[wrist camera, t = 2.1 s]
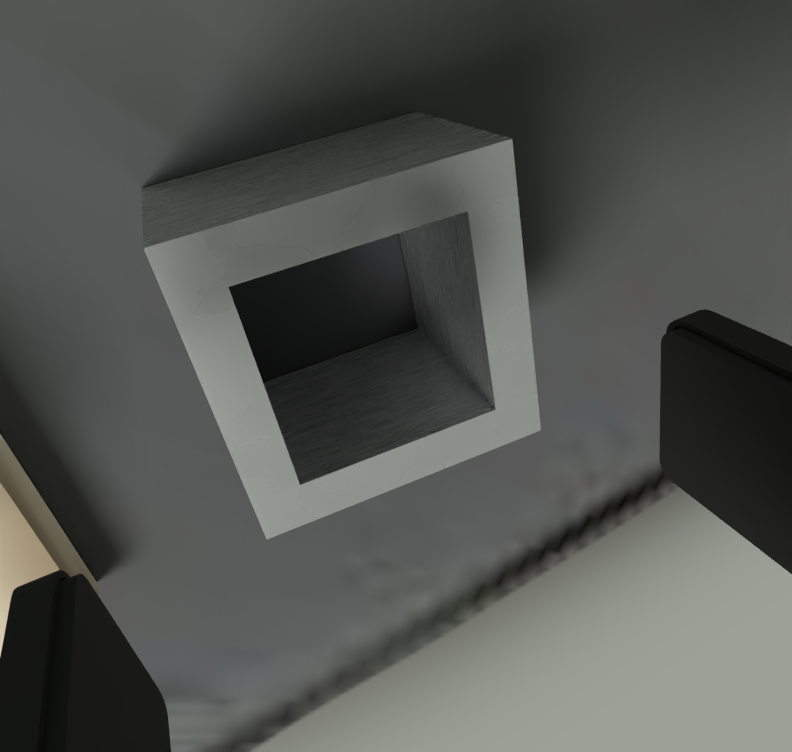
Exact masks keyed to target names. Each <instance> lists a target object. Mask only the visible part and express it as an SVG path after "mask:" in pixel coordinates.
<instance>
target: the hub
mask: <svg viewBox="0 0 792 752" xmlns="http://www.w3.org/2000/svg"><path fill="white" fill-rule="evenodd" d="M141 194H142V218H143V243H144V250H145V252H146V255H147V257H148V260H149V262H150V264H151V267H152V269H153V271H154V274H155V276H156V278H157V281H158V283H159V286H160V288H161V290H162V293H163V295H164V297H165V300H166V302H167V305H168V307H169V309H170V312H171V314H172V316H173V319H174V321H175V323H176V326H177V328H178V331H179V333H180V335H181V338H182V340H183V342H184V345H185V347H186V350H187V352H188V354H189V357H190V359H191V361H192V364H193V366H194V368H195V371H196V373H197V376H198V378H199V380H200V383H201V385H202V387H203V390H204V392H205V395H206V397H207V399H208V402H209V404H210V406H211V409H212V411H213V413H214V416H215V418H216V421H217V423H218V425H219V428H220V430H221V432H222V435H223V437H224V440H225V442H226V444H227V447H228V449H229V451H230V454H231V456H232V458H233V461H234V463H235V466H236V468H237V470H238V473H239V475H240V477H241V480H242V482H243V485H244V487H245V489H246V492H247V494H248V496H249V499H250V501H251V503H252V506H253V508H254V511H255V513H256V515H257V518H258V520H259V522H260V525H261V527H262V530H263V532H264V534H265V537H266V539H269V538H272V537H274V536H277V535H279V534H282V533H284V532H287V531H289V530H292V529H294V528H297V527H299V526H302V525H304V524H307V523H309V522H312V521H314V520H317V519H319V518H322V517H324V516H327V515H329V514H332V513H334V512H337V511H339V510H342V509H344V508H347V507H350V506H352V505H355V504H357V503H360V502H362V501H365V500H367V499H370V498H372V497H375V496H377V495H380V494H382V493H385V492H387V491H390V490H392V489H395V488H397V487H400V486H402V485H405V484H407V483H410V482H412V481H415V480H417V479H420V478H422V477H425V476H427V475H430V474H432V473H435V472H437V471H440V470H442V469H445V468H447V467H450V466H452V465H455V464H457V463H460V462H462V461H465V460H467V459H470V458H472V457H475V456H478V455H480V454H483V453H485V452H488V451H490V450H493V449H495V448H498V447H500V446H503V445H505V444H508V443H510V442H513V441H515V440H518V439H520V438H523V437H525V436H528V435H530V434H533V433H535V432H538V431H540V430H541V427H540V416H539V406H538V396H537V386H536V376H535V365H534V355H533V345H532V335H531V324H530V314H529V304H528V294H527V284H526V273H525V263H524V253H523V243H522V232H521V222H520V212H519V202H518V192H517V181H516V171H515V161H514V151H513V140H512V138H508V137H505V136H501V135H498V134H494V133H491V132H487V131H484V130H480V129H477V128H473V127H470V126H466V125H463V124H459V123H456V122H452V121H449V120H445V119H442V118H438V117H435V116H431V115H428V114H424V113H421V112H413V113H409V114H406V115H402V116H399V117H395V118H392V119H388V120H384V121H381V122H377V123H374V124H370V125H367V126H363V127H359V128H356V129H352V130H349V131H345V132H341V133H338V134H334V135H331V136H327V137H324V138H320V139H316V140H313V141H309V142H306V143H302V144H298V145H295V146H291V147H288V148H284V149H281V150H277V151H273V152H270V153H266V154H263V155H259V156H255V157H252V158H248V159H245V160H241V161H238V162H234V163H230V164H227V165H223V166H220V167H216V168H212V169H209V170H205V171H202V172H198V173H195V174H191V175H187V176H184V177H180V178H177V179H173V180H169V181H166V182H162V183H159V184H155V185H152V186H148V187H144V188H141ZM398 233H399V236H400V241H401V246H402V251H403V256H404V261H405V266H406V271H407V276H408V281H409V286H410V291H411V296H412V300H413V305H414V310H415V315H416V320H417V325H418V328H417V329H414V330H411V331H408V332H405V333H402V334H399V335H397V336H394V337H391V338H388V339H385V340H382V341H379V342H377V343H374V344H371V345H368V346H365V347H362V348H359V349H357V350H354V351H351V352H348V353H345V354H342V355H339V356H337V357H334V358H331V359H328V360H325V361H322V362H319V363H316V364H314V365H311V366H308V367H305V368H302V369H299V370H296V371H294V372H291V373H288V374H285V375H282V376H279V377H276V378H274V379H271V380H268V381H265V382H263V381H262V378H261V376H260V373H259V370H258V367H257V365H256V362H255V359H254V356H253V354H252V351H251V348H250V345H249V342H248V340H247V337H246V334H245V331H244V329H243V326H242V323H241V320H240V318H239V315H238V312H237V309H236V307H235V304H234V301H233V298H232V295H231V293H230V290H229V287H230V286H233V285H237V284H240V283H243V282H246V281H249V280H252V279H256V278H259V277H262V276H265V275H268V274H271V273H274V272H278V271H281V270H284V269H287V268H290V267H293V266H297V265H300V264H303V263H306V262H309V261H312V260H316V259H319V258H322V257H325V256H328V255H331V254H334V253H338V252H341V251H344V250H347V249H350V248H353V247H357V246H360V245H363V244H366V243H369V242H372V241H375V240H379V239H382V238H385V237H388V236H391V235H394V234H398Z"/></svg>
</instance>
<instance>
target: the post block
mask: <svg viewBox="0 0 792 752" xmlns="http://www.w3.org/2000/svg"><path fill="white" fill-rule="evenodd" d="M58 570H63V571H65V572H66V573H67V574H68V575H69V576H70V577H72V576H75V575H77V574H83V575H84V576H85V577H86V578H87V579H88V581H89V582H90V584H91V585H92V587H93V589H94V590H95V592H97V582H96V581H95V579H94V577H93V576H92V574H91V573H90V571H89V570H88V568H87V567H86V565H85V564H84V562H83V561H82V559H81V557H80V556H79V554H78V553H77V551H76V550H75V548H74V547H73V545H72V544H71V542H70V540H69V539H68V537H67V536H66V534H65V533H64V531H63V530H62V528H61V527H60V525H59V523H58V522H57V520H56V519H55V517H54V516H53V514H52V513H51V511H50V510H49V508H48V506H47V505H46V503H45V502H44V500H43V499H42V497H41V496H40V494H39V493H38V491H37V489H36V488H35V486H34V485H33V483H32V482H31V480H30V479H29V477H28V476H27V474H26V472H25V471H24V469H23V468H22V466H21V465H20V463H19V462H18V460H17V459H16V457H15V456H14V454H13V452H12V451H11V449H10V448H9V446H8V445H7V443H6V442H5V440H4V439H3V437H2V435H1V434H0V656H1V650H2V645H3V640H4V634H5V629H6V623H7V618H8V612H9V607H10V601H11V596H12V593H13V590H14V589H15V588H17V587H18V586H21V585H23V584H26V583H28V582H31V581H33V580H36V579H38V578H41V577H43V576H46V575H48V574H50V573H53V572H55V571H58Z"/></svg>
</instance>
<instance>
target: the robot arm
mask: <svg viewBox="0 0 792 752" xmlns="http://www.w3.org/2000/svg"><path fill="white" fill-rule="evenodd" d="M660 464H661V467H662V469H663V471H664V473H665V474H666V476H667V477H668V478H669V479H670V480H671V481H672V482H673V483H675V484H676V485H677V486H678V487H680V488H681V489H683V490H684V491H685V492H686V493H688V494H689V495H690V496H691V497H693V498H694V499H696V500H697V501H698V502H699V503H700V504H702V505H703V506H704V507H706V508H707V509H708V510H710V511H711V512H712V513H713V514H715V515H716V516H717V517H719V518H720V519H721V520H723V521H724V522H725V523H726V524H728V525H729V526H730V527H731V528H733V529H734V530H735V531H737V532H738V533H739V534H741V535H742V536H743V537H745V538H746V539H747V540H748V541H750V542H751V543H752V544H753V545H755V546H756V547H758V548H759V549H760V550H761V551H763V552H764V553H765V554H766V555H768V556H769V557H770V558H772V559H773V560H774V561H775V562H777V563H778V564H779V565H781V566H782V567H783V568H785V569H786V570H787V571H788V572H790V573H791V574H792V346H790V345H788V344H786V343H783V342H781V341H779V340H776V339H774V338H772V337H770V336H767V335H765V334H763V333H761V332H758V331H756V330H754V329H751V328H749V327H747V326H745V325H742V324H740V323H738V322H735V321H733V320H731V319H729V318H726V317H724V316H722V315H720V314H717V313H715V312H713V311H710V310H706V309H705V310H699V311H697V312H694V313H692V314H689V315H687V316H684V317H682V318H679V319H677V320H675V321H673V322H671V323H670V324H669V326H668V328H667V331H666V334H665V335H664V336H663V338H662V341H661V394H660ZM0 752H171V747H170V735H169V724H168V715H167V710H166V706H165V702H164V699H163V697H162V694H161V693H160V691H159V689H158V687H157V686H156V684H155V683H154V681H153V680H152V678H151V677H150V675H149V673H148V672H147V670H146V669H145V667H144V666H143V664H142V663H141V661H140V660H139V658H138V656H137V655H136V653H135V652H134V650H133V649H132V647H131V646H130V644H129V643H128V641H127V639H126V638H125V636H124V635H123V633H122V632H121V630H120V629H119V627H118V626H117V624H116V623H115V621H114V619H113V618H112V616H111V615H110V613H109V612H108V610H107V609H106V607H105V606H104V604H103V602H102V601H101V599H100V598H99V596H98V595H97V593H96V592H95V590H94V589H93V587H92V585H91V584H90V582H89V581H88V579H87V578H86V577H85V576H84V575H83V574H77V575H75V576H72V577H70V576H69V575H68V574H67V573H66V572H65V571H63V570H58V571H55V572H53V573H50V574H48V575H46V576H43V577H41V578H38V579H36V580H33V581H31V582H28V583H26V584H23V585H21V586H18V587H17V588H15V589H14V590H13V593H12V596H11V601H10V607H9V612H8V618H7V623H6V629H5V634H4V640H3V645H2V650H1V656H0Z"/></svg>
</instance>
